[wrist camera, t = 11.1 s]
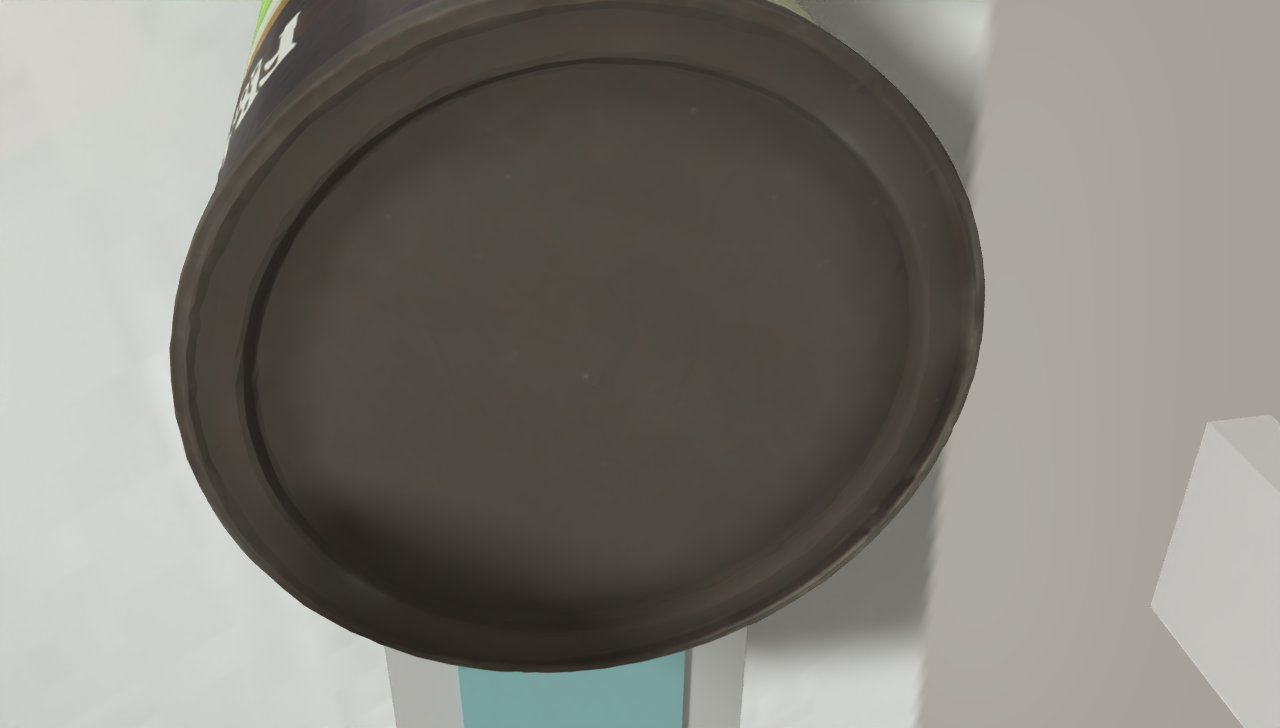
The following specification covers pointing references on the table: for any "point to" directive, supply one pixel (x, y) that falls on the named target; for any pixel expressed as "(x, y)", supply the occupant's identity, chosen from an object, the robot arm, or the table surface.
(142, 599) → the table surface
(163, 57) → the table surface
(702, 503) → the coffee can
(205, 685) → the table surface
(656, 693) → the mounted module
